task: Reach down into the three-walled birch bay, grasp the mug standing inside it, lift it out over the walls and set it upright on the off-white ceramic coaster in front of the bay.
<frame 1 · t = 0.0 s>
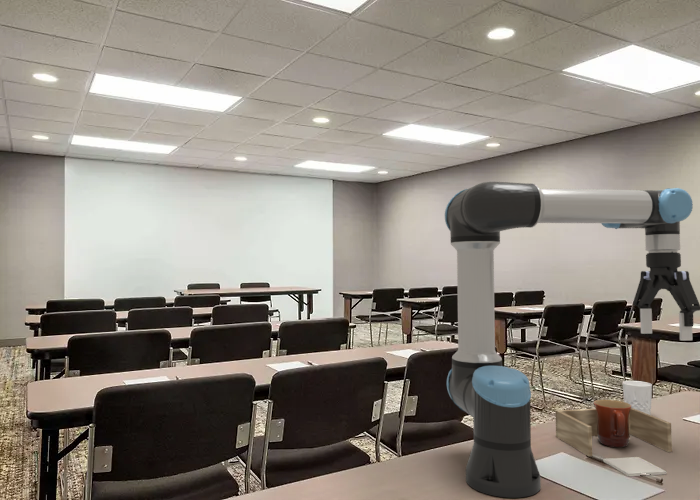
hand: (665, 336, 130), 28 cm above the table, fingers open, 13 cm apart
white cup: (637, 416, 159), on the table
bay: (611, 444, 134), on the table
coaster: (633, 467, 118), on the table
mug: (615, 446, 132), on the table
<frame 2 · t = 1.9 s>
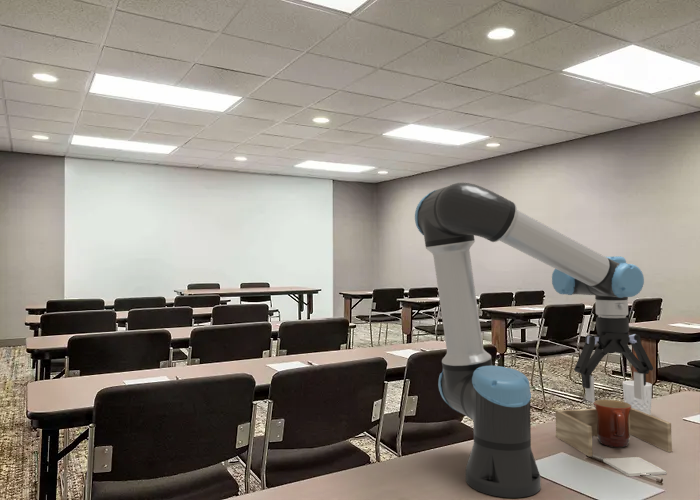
hand: (614, 399, 133), 12 cm above the table, fingers open, 13 cm apart
nothing on the table moved.
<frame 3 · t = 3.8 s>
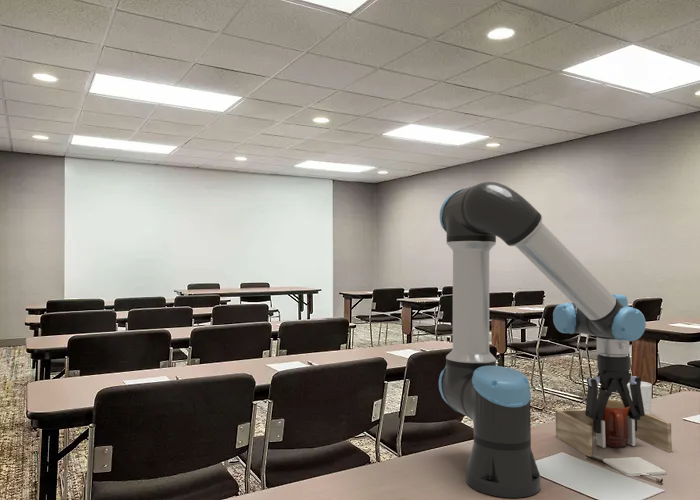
hand: (615, 444, 132), 0 cm above the table, fingers closed on mug, 7 cm apart
mug: (613, 446, 132), on the table, touching gripper
everything else where it was.
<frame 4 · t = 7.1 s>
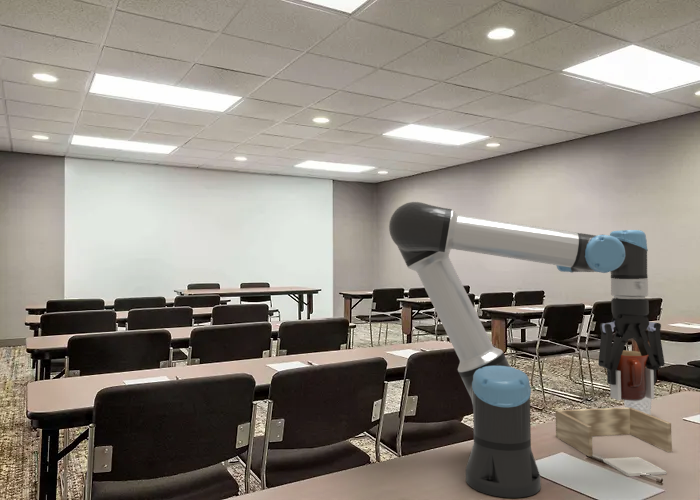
hand: (632, 398, 118), 16 cm above the table, fingers closed on mug, 7 cm apart
mug: (630, 400, 118), point 15 cm above the table, touching gripper
everything else where it was.
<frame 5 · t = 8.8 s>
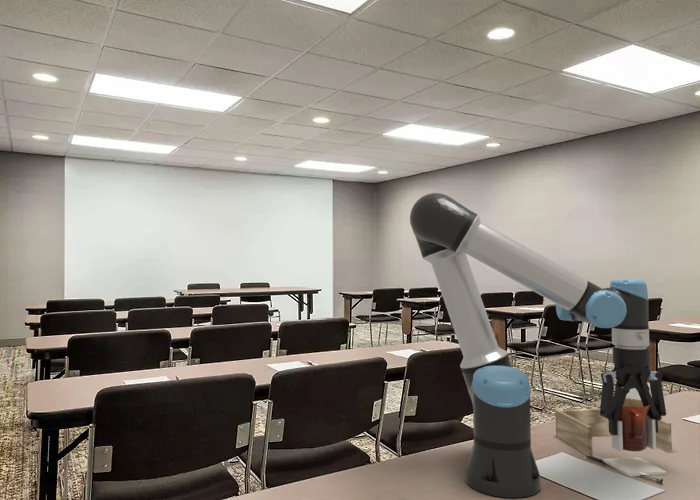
hand: (634, 448, 118), 4 cm above the table, fingers closed on mug, 7 cm apart
mug: (632, 450, 118), point 4 cm above the table, touching gripper
everything else where it was.
when the fingers open (2 cm above the table, at t = 10.3 s): mug stays where it is, resting on coaster.
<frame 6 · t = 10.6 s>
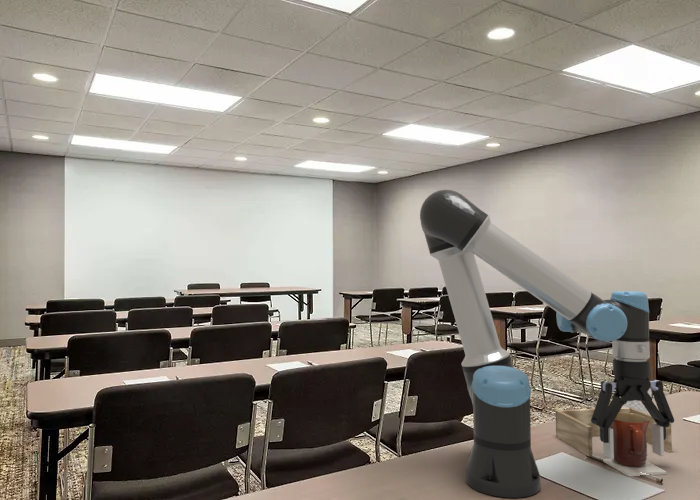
hand: (633, 455, 118), 3 cm above the table, fingers open, 11 cm apart
mug: (631, 465, 118), resting on coaster
everything else where it was.
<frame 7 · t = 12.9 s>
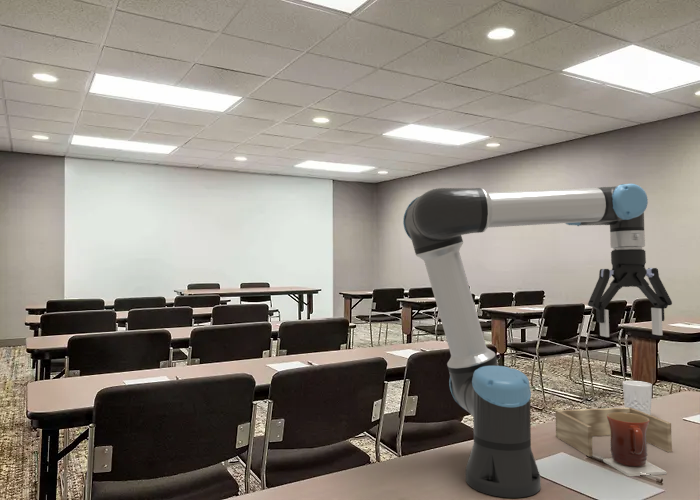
hand: (631, 335, 127), 29 cm above the table, fingers open, 13 cm apart
nothing on the table moved.
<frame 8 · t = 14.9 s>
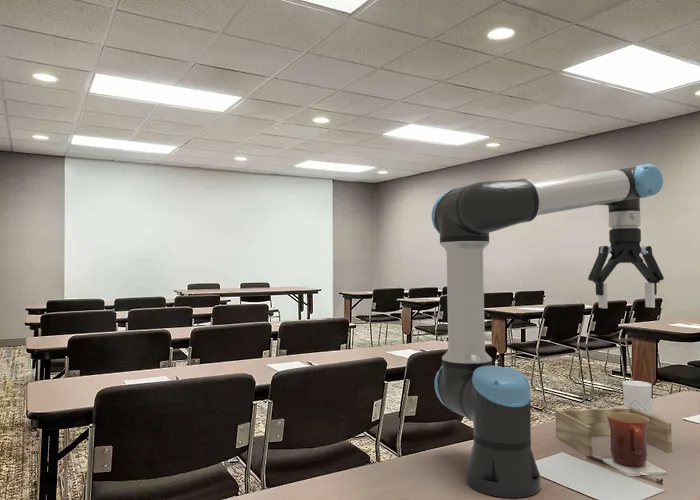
hand: (626, 307, 138), 35 cm above the table, fingers open, 13 cm apart
at the end: mug inside the target area (0.6 cm from its centre), resting on coaster; mug tilted 0°; the gripper is holding nothing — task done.
